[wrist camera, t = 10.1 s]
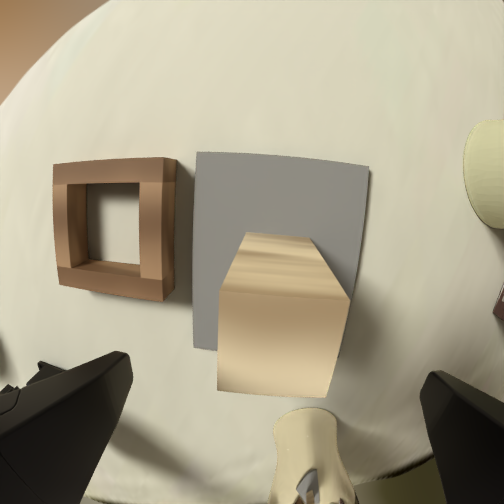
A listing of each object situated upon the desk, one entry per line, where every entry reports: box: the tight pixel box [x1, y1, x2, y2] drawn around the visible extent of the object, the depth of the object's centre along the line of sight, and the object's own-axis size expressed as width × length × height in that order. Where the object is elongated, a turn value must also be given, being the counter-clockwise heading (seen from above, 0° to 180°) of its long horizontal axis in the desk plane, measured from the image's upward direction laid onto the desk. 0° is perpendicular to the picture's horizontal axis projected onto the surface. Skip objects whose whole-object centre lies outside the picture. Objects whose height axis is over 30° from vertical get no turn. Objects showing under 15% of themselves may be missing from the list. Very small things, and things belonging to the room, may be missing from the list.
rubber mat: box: [192, 152, 369, 358], centre depth 19 cm, size 14×11×1 cm
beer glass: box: [267, 408, 359, 504], centre depth 16 cm, size 7×7×15 cm
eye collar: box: [53, 157, 177, 302], centre depth 18 cm, size 9×9×2 cm
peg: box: [217, 232, 350, 398], centre depth 14 cm, size 4×4×10 cm
